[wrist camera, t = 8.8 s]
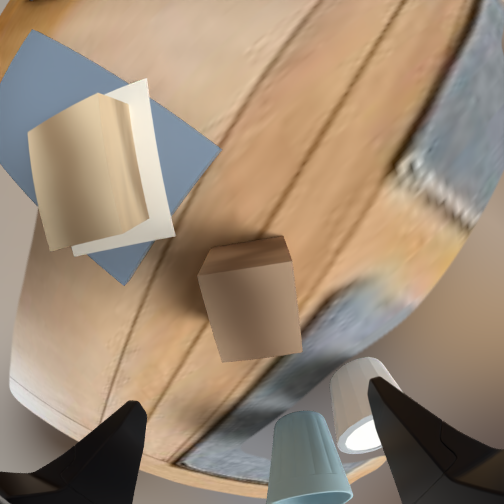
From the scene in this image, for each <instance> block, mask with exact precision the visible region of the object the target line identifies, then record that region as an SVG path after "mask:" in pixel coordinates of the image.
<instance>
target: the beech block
mask: <svg viewBox="0 0 504 504" xmlns="http://www.w3.org/2000/svg"><path fill="white" fill-rule="evenodd" d="M28 143H29V153H30V161H31V169H32V175H33V181H34V187H35V193H36V198H37V202H38V207H39V212H40V216H41V220H42V224H43V228H44V232H45V235H46V239H47V242H48V246H49V249H50V252H52V251H55V250H59V249H63V248H67V247H71V246H74V245H78V244H82V243H86V242H90V241H95V240H99V239H103V238H107V237H111V236H116V235H120V234H124V233H125V232H127V231H129V230H130V229H132V228H134V227H135V226H137V225H139V224H140V223H142V222H144V221H146V220H147V219H149V214H148V210H147V205H146V201H145V196H144V192H143V187H142V182H141V177H140V172H139V167H138V162H137V156H136V151H135V145H134V139H133V133H132V126H131V119H130V112H129V104H127V103H124V102H122V101H119V100H116V99H114V98H111V97H108V96H106V95H103V94H100V93H96V94H94V95H92V96H90V97H88V98H86V99H84V100H82V101H80V102H78V103H76V104H74V105H72V106H71V107H69V108H67V109H65V110H63V111H61V112H60V113H58V114H56V115H54V116H53V117H51V118H49V119H48V120H46V121H45V122H43V123H41V124H40V125H38V126H37V127H35V128H34V129H32V130H31V131H29V132H28Z"/></svg>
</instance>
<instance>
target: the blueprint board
mask: <svg viewBox="0 0 504 504" xmlns="http://www.w3.org/2000/svg"><path fill="white" fill-rule="evenodd" d="M96 93H100V94H103V95H106V96H108V97H111V98H114V99H116V100H119V101H122V102H124V103H127V104H129V112H130V119H131V126H132V133H133V139H134V145H135V151H136V156H137V162H138V167H139V172H140V177H141V182H142V187H143V192H144V196H145V201H146V205H147V210H148V214H149V219H147V220H146V221H144V222H142V223H140V224H139V225H137V226H135V227H134V228H132V229H130V230H129V231H127V232H125V233H124V234H120V235H116V236H111V237H107V238H103V239H99V240H95V241H90V242H86V243H82V244H78V245H74V246H71V248H72V251H73V254H74V257H76V256H80V255H85V254H87V255H88V256H89V257H91V258H92V259H93V260H94V261H95V262H96V263H97V264H99V265H100V266H101V267H102V268H103V269H104V270H106V271H107V272H108V273H109V274H110V275H112V276H113V277H114V278H115V279H116V280H118V281H119V282H120V283H121V284H123V285H124V286H125V285H126V284H127V283H128V281H129V280H130V279H131V277H132V276H133V274H134V272H135V271H136V269H137V268H138V266H139V264H140V263H141V261H142V260H143V258H144V257H145V255H146V253H147V252H148V250H149V249H150V247H151V246H152V244H153V243H154V241H155V240H159V239H164V238H169V237H175V236H176V235H175V231H174V227H173V223H172V218H171V217H172V215H173V214H174V212H175V211H176V209H177V208H178V207H179V205H180V204H181V203H182V201H183V200H184V198H185V197H186V196H187V194H188V193H189V192H190V190H191V189H192V188H193V186H194V185H195V184H196V182H197V181H198V180H199V178H200V177H201V176H202V174H203V173H204V172H205V171H206V169H207V168H208V167H209V165H210V164H211V163H212V162H213V160H214V159H215V158H216V157H217V155H218V154H219V153H220V152H221V150H222V149H221V148H219V147H218V146H217V145H216V144H214V143H213V142H212V141H210V140H209V139H208V138H206V137H205V136H203V135H202V134H201V133H199V132H198V131H197V130H195V129H194V128H193V127H191V126H190V125H188V124H187V123H186V122H184V121H183V120H181V119H180V118H179V117H177V116H176V115H174V114H173V113H172V112H170V111H169V110H167V109H166V108H164V107H163V106H161V105H160V104H159V103H157V102H156V101H154V100H153V99H151V98H150V97H149V90H148V82H147V78H145V79H142V80H139V81H137V82H134V83H131V84H128V83H127V82H125V81H124V80H122V79H120V78H119V77H117V76H116V75H114V74H112V73H111V72H109V71H108V70H106V69H104V68H103V67H101V66H99V65H98V64H96V63H94V62H93V61H91V60H89V59H88V58H86V57H84V56H82V55H81V54H79V53H77V52H75V51H74V50H72V49H70V48H68V47H66V46H64V45H63V44H61V43H59V42H57V41H55V40H53V39H51V38H49V37H47V36H45V35H44V34H42V33H40V32H37V31H35V30H33V29H32V30H31V32H30V33H29V35H28V36H27V38H26V39H25V41H24V42H23V44H22V46H21V47H20V49H19V50H18V52H17V54H16V55H15V57H14V59H13V61H12V62H11V64H10V66H9V68H8V70H7V71H6V73H5V75H4V77H3V79H2V81H1V83H0V164H1V165H2V166H3V168H4V169H5V170H6V171H7V173H8V174H9V175H10V176H11V177H12V179H13V180H14V181H15V182H16V183H17V184H18V185H19V187H20V188H21V189H22V190H23V191H24V192H25V193H26V194H27V196H28V197H29V198H30V199H31V200H32V201H33V202H34V203H35V204H36V205H37V206H38V202H37V198H36V193H35V187H34V181H33V175H32V169H31V161H30V153H29V143H28V132H29V131H31V130H32V129H34V128H35V127H37V126H38V125H40V124H41V123H43V122H45V121H46V120H48V119H49V118H51V117H53V116H54V115H56V114H58V113H60V112H61V111H63V110H65V109H67V108H69V107H71V106H72V105H74V104H76V103H78V102H80V101H82V100H84V99H86V98H88V97H90V96H92V95H94V94H96Z"/></svg>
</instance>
